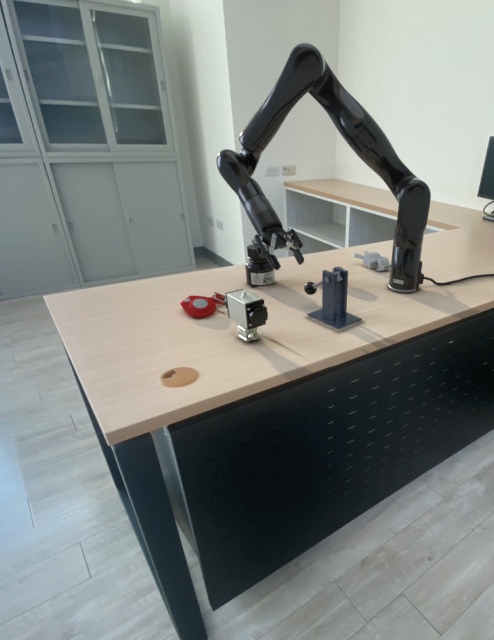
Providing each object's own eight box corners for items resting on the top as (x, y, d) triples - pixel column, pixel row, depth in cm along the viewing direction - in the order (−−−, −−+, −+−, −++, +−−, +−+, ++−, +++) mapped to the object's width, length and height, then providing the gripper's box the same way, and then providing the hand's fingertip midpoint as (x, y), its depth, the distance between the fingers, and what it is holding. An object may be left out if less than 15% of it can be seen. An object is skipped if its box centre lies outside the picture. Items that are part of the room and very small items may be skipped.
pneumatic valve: (254, 350, 94) (249, 301, 88) (227, 333, 101) (221, 286, 94) (273, 343, 97) (270, 295, 91) (246, 327, 104) (242, 282, 98)
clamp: (307, 317, 111) (306, 268, 103) (330, 309, 117) (331, 261, 109) (338, 332, 104) (339, 280, 97) (361, 322, 110) (364, 273, 103)
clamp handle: (304, 297, 113) (299, 285, 112) (313, 294, 115) (309, 282, 114) (336, 284, 102) (331, 270, 101) (345, 281, 104) (341, 267, 104)
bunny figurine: (379, 263, 143) (351, 248, 152) (376, 276, 147) (349, 261, 155) (397, 259, 149) (369, 245, 157) (394, 272, 152) (367, 258, 160)
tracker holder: (205, 317, 105) (171, 303, 106) (206, 329, 108) (174, 315, 109) (231, 292, 113) (199, 279, 114) (231, 304, 116) (201, 291, 117)
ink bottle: (254, 291, 126) (251, 252, 119) (241, 283, 131) (237, 245, 125) (281, 285, 131) (279, 247, 125) (267, 277, 137) (264, 241, 130)
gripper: (246, 210, 107) (276, 263, 107) (288, 205, 116) (315, 254, 116) (236, 227, 113) (265, 277, 112) (277, 221, 122) (303, 268, 122)
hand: (290, 265), depth 114 cm, fingers open, 8 cm apart
